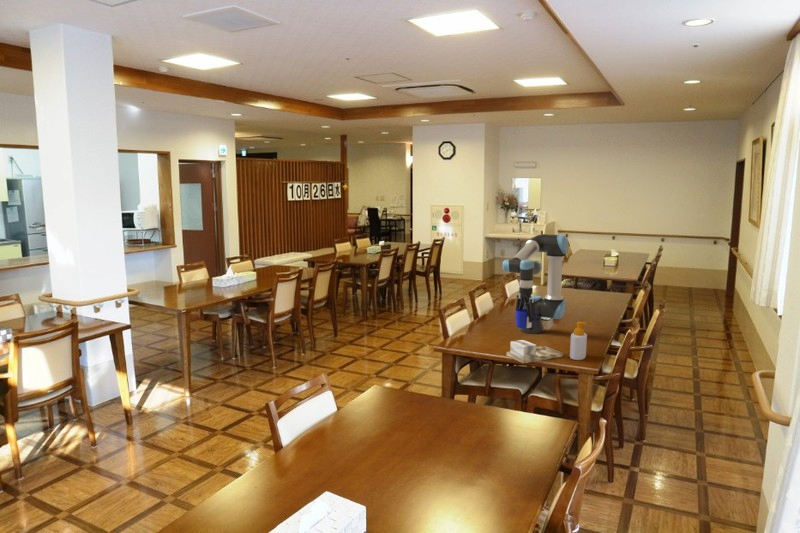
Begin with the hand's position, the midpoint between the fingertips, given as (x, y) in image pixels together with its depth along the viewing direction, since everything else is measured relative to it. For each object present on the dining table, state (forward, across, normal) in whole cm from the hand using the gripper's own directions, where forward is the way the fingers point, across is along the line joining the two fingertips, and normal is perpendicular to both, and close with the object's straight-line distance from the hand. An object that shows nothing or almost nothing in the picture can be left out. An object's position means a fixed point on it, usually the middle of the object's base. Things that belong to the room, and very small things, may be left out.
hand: (524, 325), depth 317 cm
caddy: (+15, +9, +1) cm, 18 cm away
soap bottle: (+16, +21, +22) cm, 34 cm away
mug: (+1, +1, 0) cm, 1 cm away
